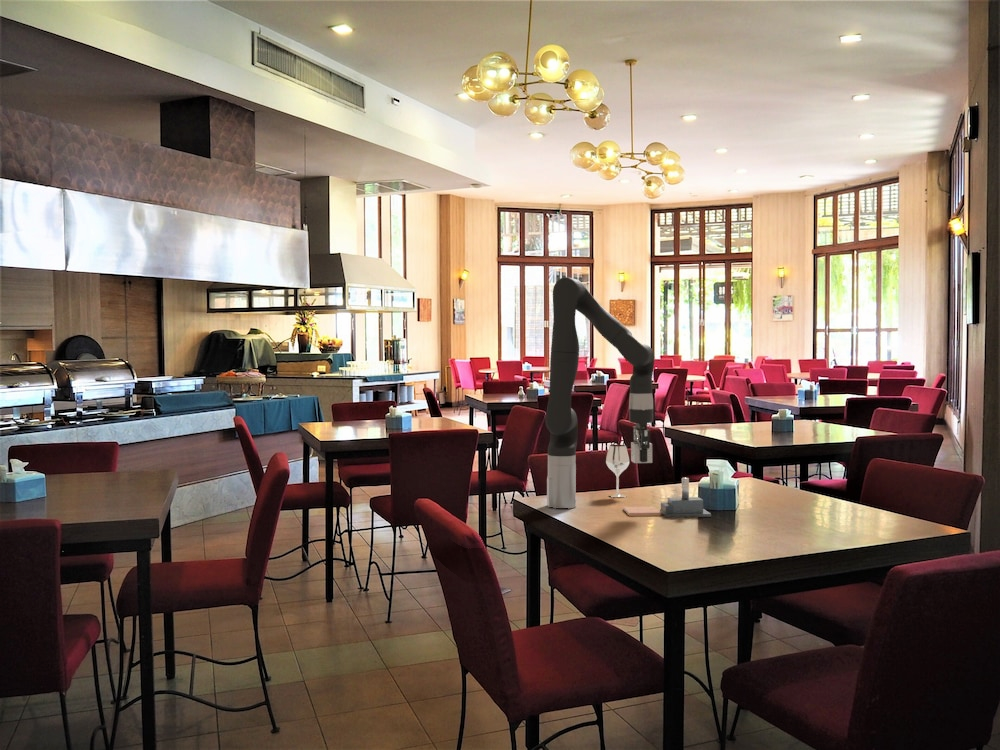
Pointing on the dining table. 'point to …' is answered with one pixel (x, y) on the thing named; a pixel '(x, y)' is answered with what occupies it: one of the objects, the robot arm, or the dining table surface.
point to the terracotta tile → (642, 511)
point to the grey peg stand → (684, 505)
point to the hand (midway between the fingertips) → (641, 460)
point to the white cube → (636, 453)
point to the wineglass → (617, 462)
